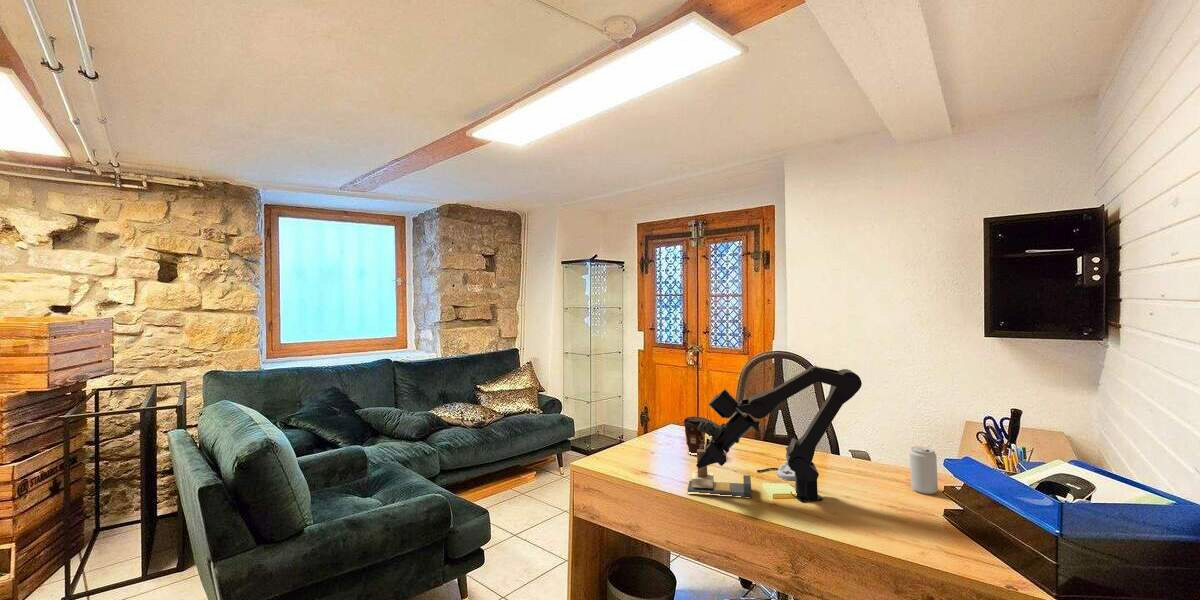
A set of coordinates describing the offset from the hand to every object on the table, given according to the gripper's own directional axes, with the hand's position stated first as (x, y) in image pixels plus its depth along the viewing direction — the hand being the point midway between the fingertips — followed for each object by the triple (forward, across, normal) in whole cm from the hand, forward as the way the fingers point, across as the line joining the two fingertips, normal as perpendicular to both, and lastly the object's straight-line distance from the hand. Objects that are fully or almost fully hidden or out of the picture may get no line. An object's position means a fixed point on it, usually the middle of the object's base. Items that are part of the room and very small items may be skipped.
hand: (697, 465), depth 149 cm
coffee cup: (+8, -35, +3) cm, 36 cm away
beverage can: (-39, -10, +50) cm, 64 cm away
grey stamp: (+3, 0, +5) cm, 6 cm away
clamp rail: (+1, 0, +10) cm, 10 cm away
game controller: (-12, -21, +23) cm, 34 cm away
